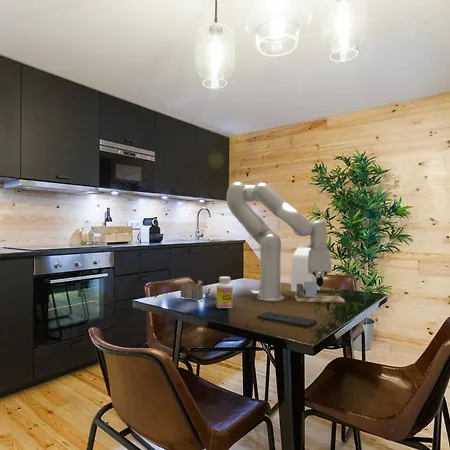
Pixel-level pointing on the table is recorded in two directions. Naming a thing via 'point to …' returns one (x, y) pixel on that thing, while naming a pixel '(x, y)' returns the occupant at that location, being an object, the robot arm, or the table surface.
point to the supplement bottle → (224, 293)
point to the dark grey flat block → (287, 319)
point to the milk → (301, 267)
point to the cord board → (319, 298)
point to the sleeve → (310, 288)
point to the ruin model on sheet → (192, 290)
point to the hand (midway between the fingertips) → (319, 286)
